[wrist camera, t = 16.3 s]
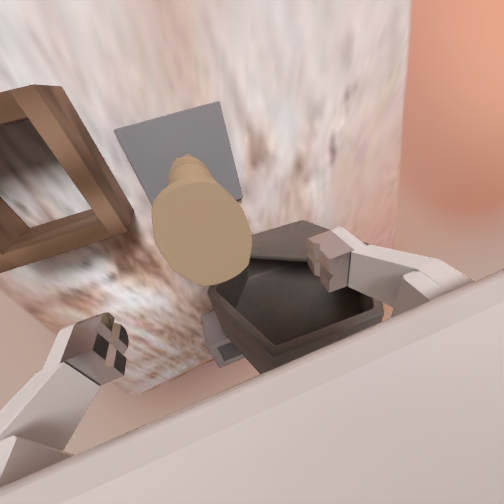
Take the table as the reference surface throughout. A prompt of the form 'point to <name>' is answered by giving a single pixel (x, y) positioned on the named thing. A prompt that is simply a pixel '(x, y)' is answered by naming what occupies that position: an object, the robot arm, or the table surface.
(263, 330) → the planter
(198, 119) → the mat
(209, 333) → the tray
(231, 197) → the handle
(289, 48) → the table surface
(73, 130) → the block
